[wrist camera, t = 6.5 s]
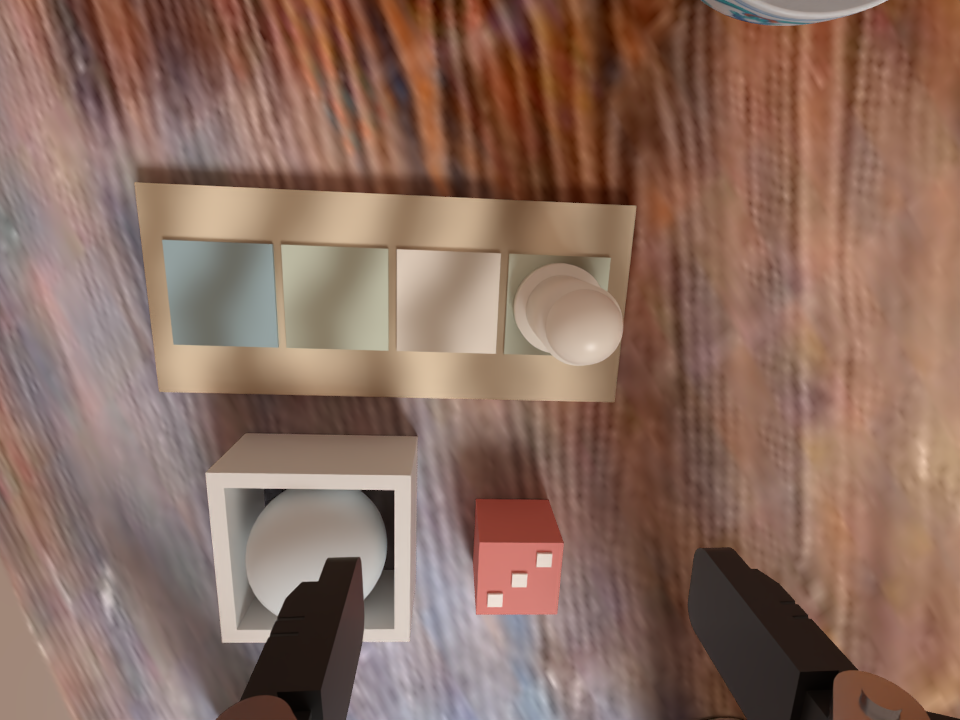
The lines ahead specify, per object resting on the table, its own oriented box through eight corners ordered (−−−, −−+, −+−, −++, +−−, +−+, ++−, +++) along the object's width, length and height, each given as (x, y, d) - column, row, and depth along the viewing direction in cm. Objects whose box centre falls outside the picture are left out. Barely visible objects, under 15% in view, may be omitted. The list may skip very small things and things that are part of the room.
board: (630, 206, 30) (637, 205, 29) (609, 397, 33) (615, 403, 32) (144, 183, 29) (132, 182, 28) (168, 386, 32) (157, 392, 31)
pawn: (603, 264, 30) (659, 277, 22) (594, 350, 31) (644, 392, 23) (515, 261, 30) (539, 273, 22) (510, 347, 31) (531, 390, 23)
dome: (394, 458, 33) (376, 527, 26) (394, 564, 35) (377, 658, 28) (269, 456, 33) (213, 526, 25) (276, 563, 35) (226, 659, 27)
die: (548, 499, 35) (564, 544, 30) (543, 563, 36) (557, 616, 31) (475, 498, 35) (479, 543, 30) (473, 562, 36) (476, 616, 31)
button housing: (417, 436, 33) (411, 475, 28) (415, 580, 36) (409, 641, 31) (245, 433, 33) (205, 472, 27) (256, 580, 35) (222, 642, 30)
